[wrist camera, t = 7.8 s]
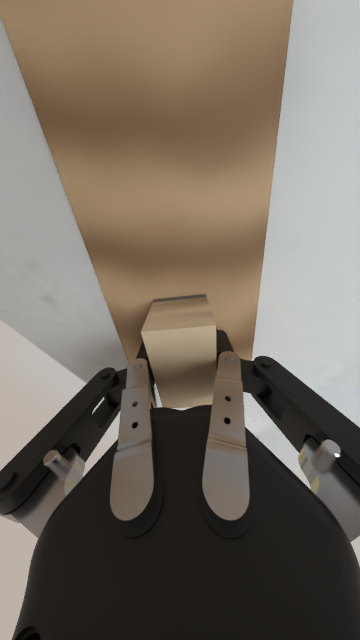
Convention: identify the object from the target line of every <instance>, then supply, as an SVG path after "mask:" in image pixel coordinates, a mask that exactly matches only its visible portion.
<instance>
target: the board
mask: <svg viewBox="0 0 360 640" xmlns="http://www.w3.org/2000/svg"><path fill="white" fill-rule="evenodd" d="M292 6H293V0H0V16H1V19H2V22H3V24H4V27H5V30H6V32H7V35H8V38H9V40H10V43H11V46H12V49H13V51H14V54H15V57H16V59H17V62H18V65H19V67H20V70H21V73H22V76H23V78H24V81H25V84H26V86H27V89H28V92H29V94H30V97H31V100H32V103H33V105H34V108H35V111H36V113H37V116H38V119H39V121H40V124H41V127H42V130H43V132H44V135H45V138H46V140H47V143H48V146H49V148H50V151H51V154H52V157H53V159H54V162H55V165H56V167H57V170H58V173H59V175H60V178H61V181H62V184H63V186H64V189H65V192H66V194H67V197H68V200H69V202H70V205H71V208H72V211H73V213H74V216H75V219H76V221H77V224H78V227H79V229H80V232H81V235H82V238H83V240H84V243H85V246H86V248H87V251H88V254H89V256H90V259H91V262H92V265H93V267H94V270H95V273H96V275H97V278H98V281H99V283H100V286H101V289H102V292H103V294H104V297H105V300H106V302H107V305H108V308H109V310H110V313H111V316H112V319H113V321H114V324H115V327H116V329H117V332H118V335H119V337H120V340H121V343H122V346H123V348H124V351H125V354H126V356H127V359H128V362H129V363H130V362H131V361H133V360H135V359H136V357H137V354H138V351H139V349H140V346H141V343H142V341H143V338H142V334H141V330H142V328H143V326H144V323H145V321H146V318H147V316H148V313H149V311H150V308H151V306H152V303H153V301H154V299H163V298H173V297H182V296H191V295H201V294H206V297H207V300H208V303H209V306H210V308H211V311H212V314H213V317H214V320H215V323H216V327H217V330H223V331H225V332H226V333H227V336H228V338H229V341H230V343H231V345H232V347H233V350H234V352H235V353H236V354H238V355H239V357H240V358H241V359H244V360H250V361H251V359H252V351H253V342H254V333H255V325H256V316H257V308H258V299H259V290H260V282H261V273H262V265H263V256H264V247H265V239H266V230H267V221H268V213H269V204H270V196H271V187H272V178H273V170H274V161H275V153H276V144H277V135H278V127H279V118H280V110H281V101H282V92H283V84H284V75H285V67H286V58H287V49H288V41H289V32H290V24H291V15H292ZM155 383H156V382H155Z"/></svg>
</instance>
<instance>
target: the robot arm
mask: <svg viewBox="0 0 360 640" xmlns="http://www.w3.org/2000/svg"><path fill="white" fill-rule="evenodd" d="M216 359H217V377H216V378H215V385H214V394H213V402H212V405H199V406H196V407H193V408H189V409H186V410H176V409H172V408H167V407H160V408H157V402H156V394H155V387H154V383H155V379H154V375H153V372H152V368H151V365H150V362H149V358H148V355H147V351H146V348H145V345H144V341H142V343H141V346H140V349H139V351H138V354H137V357H136V359H135V360H133V361H131V362H130V363H129V365H128V367H127V368H126V369H124V370H120V371H117V372H116V370H115V369H114V368H105V369H103V370H101V371H100V372H98V373H97V374H96V375H95V376H94V377H93V378H92V379H91V380H90V381H89V382H88V383H87V384H86V385H85V386H84V387H83V388H82V389H81V390H80V391H79V392H78V393H77V394H76V395H75V396H74V397H73V398H72V399H71V400H70V402H69V403H67V405H65V406H64V407H63V409H61V411H60V412H59V413H58V414H57V415H56V416H55V417H54V418H53V419H52V420H51V421H50V422H49V423H48V424H47V425H46V426H45V427H44V428H43V429H42V430H41V431H40V432H39V433H38V434H37V435H36V436H35V437H34V438H33V439H32V440H31V441H30V442H29V443H28V444H27V445H26V446H25V447H24V448H23V449H22V450H21V451H20V452H19V453H18V454H17V455H16V456H15V457H14V458H13V459H12V460H11V461H10V462H9V463H8V464H7V465H6V466H5V467H4V468H3V469H2V470H1V471H0V516H3V517H5V518H7V519H9V520H12V521H14V522H17V523H21V524H23V525H24V526H25V527H26V528H27V529H28V530H29V531H31V532H32V533H33V534H34V535H35V536H36V537H38V538H39V539H38V541H37V544H36V546H35V549H34V552H33V556H32V560H31V564H30V570H29V575H28V581H27V587H26V592H25V596H24V601H23V605H22V608H21V612H20V615H19V619H18V622H17V625H16V629H15V632H14V635H13V638H12V640H360V567H359V564H358V560H357V558H356V555H355V552H354V550H353V547H352V545H351V543H350V542H352V541H353V540H354V539H356V538H357V537H358V536H359V535H360V428H359V427H358V426H357V425H356V424H354V423H353V422H352V421H351V420H349V419H348V418H347V417H346V416H344V415H343V414H342V413H341V412H339V411H338V410H337V409H336V408H334V407H333V406H332V405H331V404H329V403H328V402H327V401H326V400H324V399H323V398H322V397H321V396H319V395H318V394H317V393H315V392H314V391H313V390H312V389H310V388H309V387H308V386H307V385H305V384H304V383H303V382H302V381H300V380H299V379H298V378H297V377H295V376H294V375H293V374H292V373H290V372H289V371H288V370H287V369H285V368H284V367H283V366H282V365H280V364H279V363H278V362H277V361H275V360H274V359H272V358H270V357H267V356H259V357H256V358H255V359H254V361H250V360H244V359H241V358H240V357H239V355H238V354H236V353H235V352H234V350H233V347H232V345H231V343H230V341H229V338H228V336H227V333H226V332H225V331H223V330H217V327H216ZM243 392H247V393H251V395H252V396H253V398H254V399H255V400H256V401H257V402H258V404H259V405H260V406H261V407H262V408H263V410H264V411H265V412H266V413H267V415H268V416H269V417H270V418H271V419H272V421H273V422H274V423H275V424H276V426H277V427H278V428H279V429H280V430H281V432H282V433H283V434H284V435H285V436H286V438H287V439H288V440H289V441H290V443H291V444H292V445H293V446H294V447H295V449H296V450H297V451H298V452H299V456H298V461H299V465H300V467H301V469H302V471H303V473H304V474H305V476H306V477H307V479H308V481H309V484H310V487H311V490H310V489H309V488H308V487H307V486H306V485H305V484H304V483H303V482H302V481H301V480H300V479H299V478H298V477H297V476H296V475H295V474H294V473H293V472H292V471H291V470H290V469H289V468H288V467H286V466H285V465H284V464H283V463H282V462H281V461H280V460H279V459H278V458H277V457H276V456H275V455H274V454H273V453H272V452H271V451H270V450H269V449H268V448H267V447H266V446H265V445H264V444H263V443H261V442H260V441H259V440H258V439H257V438H256V437H255V436H254V435H253V434H252V433H251V432H250V431H249V430H248V429H247V428H246V427H245V420H244V402H243ZM103 397H104V400H103V402H102V403H101V404H100V405H99V407H98V408H97V409H96V410H95V412H94V413H93V414H92V412H93V410H94V408H95V407H96V406H97V405H98V403H99V402H100V401H101V400H102V398H103ZM120 410H121V413H120V425H119V436H118V439H117V441H116V442H115V443H114V444H113V445H112V446H111V447H110V448H109V449H108V451H107V452H106V453H105V454H104V455H103V456H102V457H101V458H100V460H98V462H97V463H96V464H95V465H94V466H93V467H92V468H91V469H90V470H89V471H88V473H87V474H86V475H85V476H84V477H83V476H82V475H83V472H84V468H85V462H86V461H87V459H88V458H89V456H90V455H91V453H92V452H93V450H94V449H95V447H96V446H97V444H98V443H99V441H100V439H101V438H102V437H103V435H104V434H105V432H106V431H107V429H108V428H109V426H110V425H111V423H112V422H113V420H114V419H115V417H116V416H117V415H118V413H119V411H120Z"/></svg>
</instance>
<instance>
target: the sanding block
mask: <svg viewBox="0 0 360 640" xmlns="http://www.w3.org/2000/svg"><path fill="white" fill-rule="evenodd" d="M141 334H142V338H143V341H144V345H145V348H146V351H147V355H148V358H149V362H150V365H151V368H152V372H153V375H154V379H155V382H156V385H157V389H158V392H159V396H160V399H161V402H162V406H163V407H167V408H183V407H196V406H199V405H212V402H213V394H214V385H215V378H216V377H217V359H216V323H215V320H214V317H213V314H212V311H211V308H210V306H209V303H208V300H207V297H206V294H201V295H191V296H182V297H173V298H163V299H154V301H153V303H152V306H151V308H150V311H149V313H148V316H147V318H146V321H145V323H144V326H143V328H142V330H141Z"/></svg>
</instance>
